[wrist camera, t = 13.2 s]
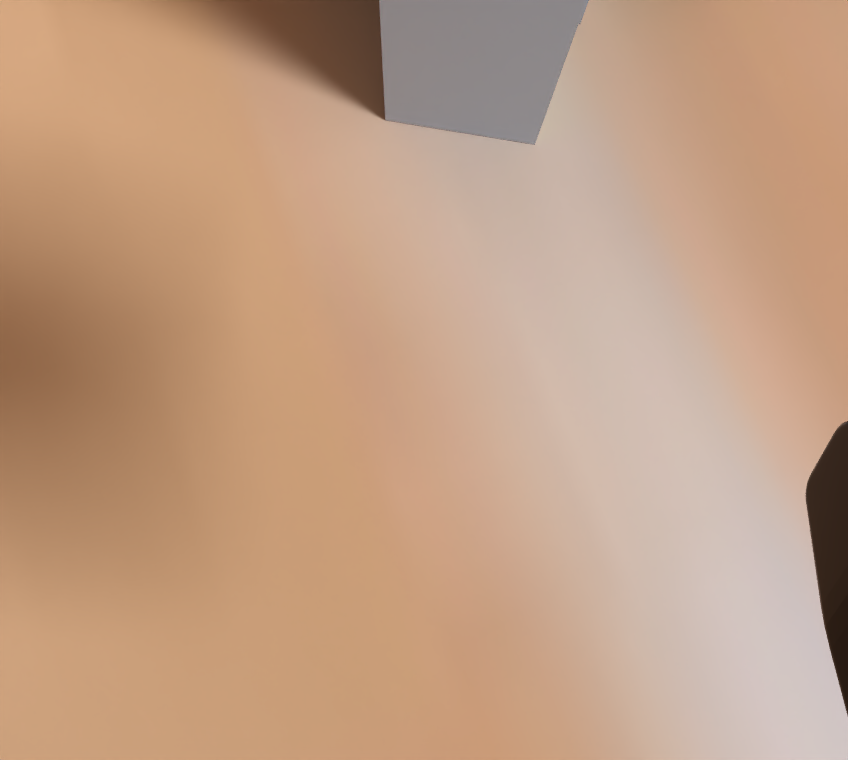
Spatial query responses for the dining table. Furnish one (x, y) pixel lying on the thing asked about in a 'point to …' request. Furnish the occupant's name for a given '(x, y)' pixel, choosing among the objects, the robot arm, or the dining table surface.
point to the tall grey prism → (475, 62)
